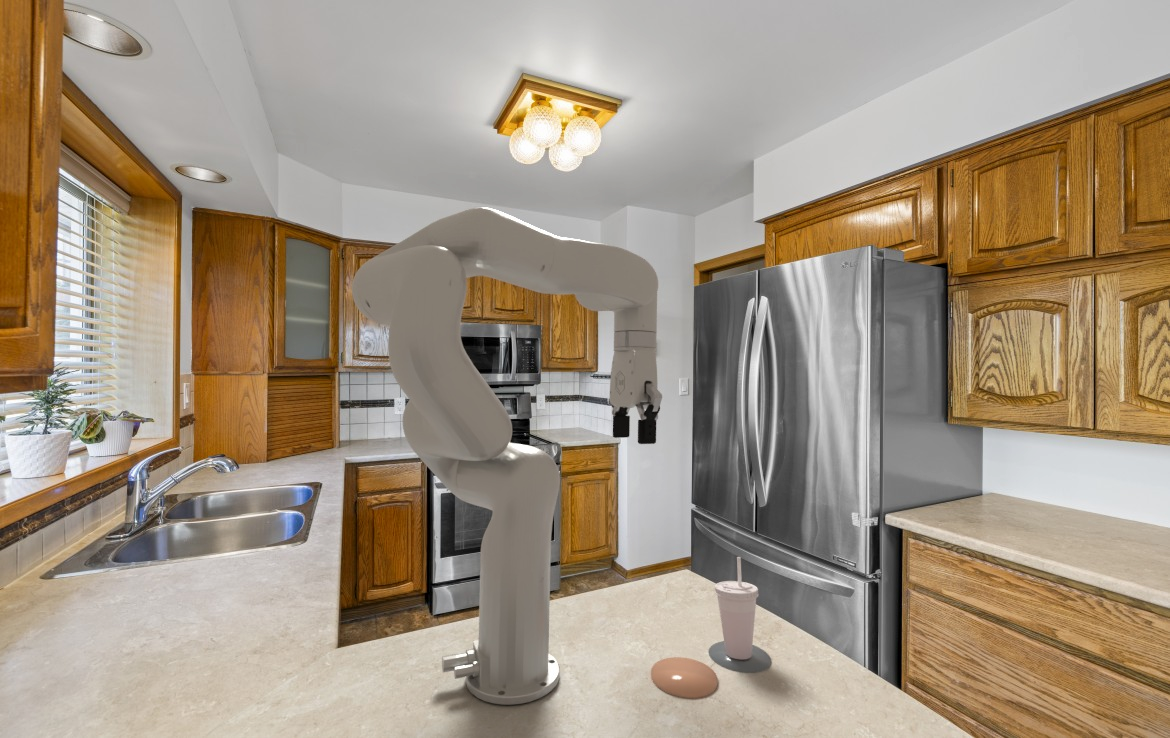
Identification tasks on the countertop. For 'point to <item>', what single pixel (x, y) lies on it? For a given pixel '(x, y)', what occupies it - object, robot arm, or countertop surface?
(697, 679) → the orange brown disc
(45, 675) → the countertop surface
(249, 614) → the countertop surface
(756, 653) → the grey pebble
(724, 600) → the smoothie
